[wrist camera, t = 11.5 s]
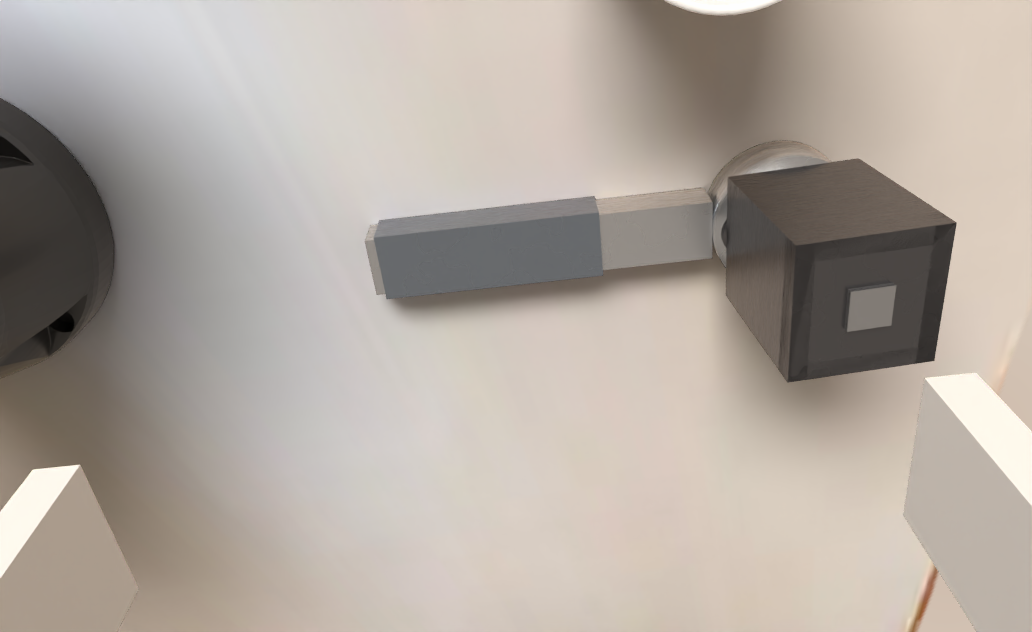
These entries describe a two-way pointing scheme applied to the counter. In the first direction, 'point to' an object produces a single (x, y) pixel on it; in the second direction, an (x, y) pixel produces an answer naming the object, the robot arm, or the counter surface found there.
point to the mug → (722, 6)
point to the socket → (836, 268)
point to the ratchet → (563, 234)
